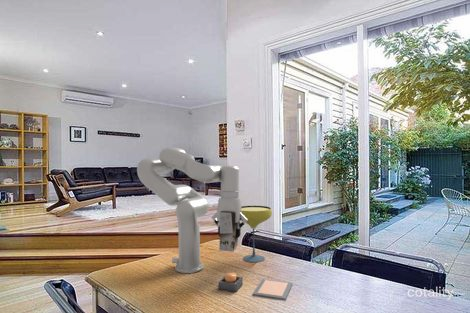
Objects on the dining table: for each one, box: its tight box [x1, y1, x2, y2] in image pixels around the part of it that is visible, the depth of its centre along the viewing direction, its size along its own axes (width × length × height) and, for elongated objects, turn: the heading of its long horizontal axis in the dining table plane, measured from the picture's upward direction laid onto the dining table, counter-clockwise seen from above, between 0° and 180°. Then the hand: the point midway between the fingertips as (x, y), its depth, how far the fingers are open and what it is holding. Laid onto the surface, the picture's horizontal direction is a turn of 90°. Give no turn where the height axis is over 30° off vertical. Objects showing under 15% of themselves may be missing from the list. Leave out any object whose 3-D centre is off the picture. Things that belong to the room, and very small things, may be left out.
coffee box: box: [218, 211, 239, 253], centre depth 127 cm, size 9×6×16 cm
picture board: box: [252, 278, 293, 301], centre depth 112 cm, size 12×14×1 cm
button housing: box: [217, 275, 243, 293], centre depth 115 cm, size 7×7×3 cm
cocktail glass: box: [240, 205, 273, 263], centre depth 148 cm, size 18×18×25 cm
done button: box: [224, 272, 237, 283], centre depth 115 cm, size 4×4×3 cm
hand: (229, 236), depth 127 cm, fingers closed on coffee box, 7 cm apart
